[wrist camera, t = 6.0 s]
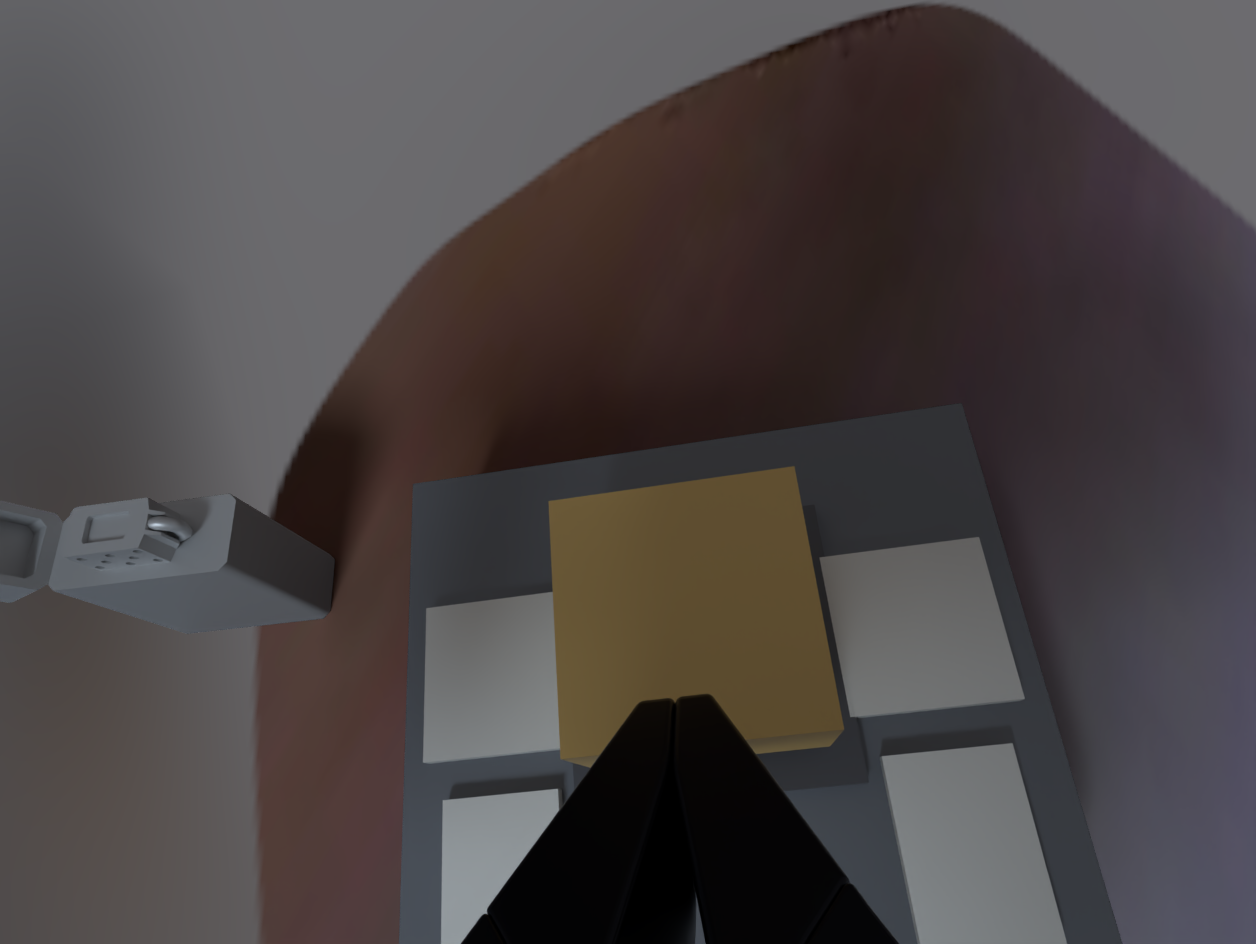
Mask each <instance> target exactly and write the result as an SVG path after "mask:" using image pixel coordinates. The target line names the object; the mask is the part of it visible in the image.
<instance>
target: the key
mask: <svg viewBox="0 0 1256 944" xmlns="http://www.w3.org/2000/svg"><path fill="white" fill-rule="evenodd" d="M548 502H549V523H550V545H551V566H552V588H553V609H554V631H555V652H556V674H557V695H558V717H559V738H560V759H562V760H565V761H568V762H572V763H575V764H579V765H582V766H586V767H589V768H591V766H592V765H593V763H594V762H595V761H596V759H597V758H598V757H599V755H600V754H601V753H602V751H603V750H604V749H605V747H606V746H607V744H608V743H609V742H610V740H611V739H612V738H613V736H614V735H615V734H616V732H617V731H618V729H619V728H620V727H621V725H622V724H623V723H624V721H625V720H626V719H627V717H628V716H629V714H630V713H631V712H632V710H633V709H634V708H635V706H636V705H637V704H638V703H639V702H641V701H645V700H654V699H663V698H671V699H673V700H674V701H675V703H676V700H677V699H678V698H679V697H681V696H689V695H698V694H710V695H712V696H713V697H714V698H715V700H716V701H717V702H718V704H719V705H720V706H721V708H722V709H723V710H724V712H725V713H726V714H727V716H728V717H729V718H730V720H731V721H732V722H733V724H734V725H735V726H736V728H737V729H738V730H739V732H740V733H741V734H742V736H743V737H744V738H745V740H746V741H747V743H748V744H749V745H750V747H751V748H752V749H753V751H754V752H755V753H756V754H761V753H771V752H781V751H791V750H800V749H810V748H820V747H830V746H831V745H832V743H833V742H834V741H835V740H836V739H837V738H838V736H839V735H840V734H841V733H842V732H843V730H844V725H843V720H842V715H841V710H840V704H839V699H838V694H837V688H836V683H835V678H834V673H833V667H832V662H831V657H830V651H829V646H828V641H827V636H826V630H825V625H824V620H823V615H822V609H821V604H820V599H819V593H818V588H817V583H816V578H815V572H814V567H813V562H812V556H811V551H810V546H809V541H808V535H807V530H806V525H805V519H804V514H803V509H802V504H801V498H800V493H799V488H798V483H797V477H796V472H795V467H794V466H792V467H785V468H778V469H771V470H764V471H757V472H750V473H743V474H736V475H729V476H722V477H715V478H708V479H700V480H693V481H686V482H679V483H672V484H665V485H658V486H651V487H644V488H637V489H630V490H623V491H616V492H609V493H602V494H595V495H588V496H581V497H574V498H567V499H560V500H553V501H548Z"/></svg>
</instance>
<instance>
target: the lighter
mask: <svg viewBox="0 0 1256 944" xmlns="http://www.w3.org/2000/svg"><path fill="white" fill-rule="evenodd" d="M334 564H335V559H334V558H333V557H332V556H331V555H330V554H329V553H327V552H325V551H324V550H322V549H320V548H319V547H317V546H315V545H314V544H312V543H311V542H309V541H307V540H306V539H304V538H302V537H301V536H299V535H297V534H296V533H294V532H292V531H291V530H289V529H287V528H286V527H284V526H282V525H281V524H279V523H278V522H276V521H274V520H273V519H271V518H269V517H268V516H266V515H264V514H263V513H261V512H259V511H258V510H256V509H254V508H253V507H251V506H249V505H248V504H246V503H244V502H243V501H241V500H239V499H238V498H236V497H234V496H233V495H231V494H222V495H216V496H208V497H200V498H193V499H185V500H178V501H170V502H163V503H157V502H155V501H153V500H152V499H150V498H141V499H134V500H126V501H120V502H112V503H104V504H97V505H89V506H82V507H75V508H74V510H73V511H72V512H71V514H70V516H69V517H68V518H67V519H66V520H65V521H64V522H62V521H61V519H60V518H59V517H58V515H57V514H56V513H52V512H48V511H43V510H39V509H35V508H31V507H26V506H22V505H18V504H13V503H9V502H5V501H0V601H2V602H8V603H11V602H13V601H16V600H18V599H19V598H22V597H24V596H26V595H28V594H30V593H32V592H34V591H36V590H38V589H40V588H42V587H43V586H45V585H47V584H48V585H49V586H50V587H51V589H52V590H53V591H55V592H58V593H61V594H65V595H68V596H71V597H74V598H77V599H80V600H84V601H87V602H90V603H93V604H96V605H99V606H102V607H105V608H108V609H112V610H115V611H118V612H121V613H124V614H127V615H130V616H133V617H136V618H140V619H143V620H146V621H149V622H152V623H155V624H159V625H161V626H165V627H168V628H171V629H174V630H177V631H180V632H183V633H187V634H189V633H198V632H207V631H216V630H225V629H234V628H243V627H252V626H261V625H270V624H279V623H287V622H296V621H305V620H314V619H323V618H324V617H325V616H326V615H327V614H328V613H329V612H330V609H331V598H332V587H333V576H334Z"/></svg>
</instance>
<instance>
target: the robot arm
mask: <svg viewBox="0 0 1256 944" xmlns="http://www.w3.org/2000/svg"><path fill="white" fill-rule="evenodd" d="M696 897H697V902H698V907H699V913H700V918H701V923H702V928H703V933H704V939H705V944H900V943H899V942H898V941H897V940H896V938H895V937H894V936H893V935H892V933H891V932H890V931H889V930H888V928H887V927H886V926H885V925H884V923H883V922H882V921H881V920H880V919H879V917H878V916H877V915H876V914H875V912H874V911H873V910H872V908H871V907H870V906H869V904H868V903H867V902H866V900H865V899H864V898H863V896H862V895H861V893H860V892H859V891H858V889H857V888H856V887H855V886H854V885H853V884H852V883H850V881H849V878H848V877H847V875H846V874H845V873H844V871H843V870H842V869H841V867H840V866H839V865H838V863H837V862H836V861H835V859H834V858H833V857H832V855H831V854H830V853H829V851H828V850H827V848H826V847H825V846H824V844H823V843H822V842H821V840H820V839H819V838H818V836H817V835H816V834H815V832H814V831H813V830H812V828H811V827H810V826H809V824H808V823H807V822H806V820H805V819H804V818H803V816H802V815H801V814H800V812H799V811H798V810H797V808H796V807H795V806H794V804H793V803H792V802H791V800H790V799H789V798H788V796H787V795H786V793H785V792H784V791H783V789H782V788H781V787H780V785H779V784H778V783H777V781H776V780H775V779H774V777H773V776H772V775H771V773H770V772H769V771H768V769H767V768H766V767H765V765H764V764H763V763H762V761H761V760H760V759H759V757H758V756H757V755H756V753H755V752H754V751H753V749H752V748H751V747H750V745H749V744H748V743H747V741H746V740H745V738H744V737H743V736H742V734H741V733H740V732H739V730H738V729H737V728H736V726H735V725H734V724H733V722H732V721H731V720H730V718H729V717H728V716H727V714H726V713H725V712H724V710H723V709H722V708H721V706H720V705H719V704H718V702H717V701H716V700H715V698H714V697H713V696H712V695H710V694H698V695H689V696H681V697H679V698H678V699H677V700H676V703H675V701H674V700H673V699H671V698H663V699H654V700H645V701H641V702H639V703H638V704H637V705H636V706H635V708H634V709H633V710H632V712H631V713H630V714H629V716H628V717H627V719H626V720H625V721H624V723H623V724H622V725H621V727H620V728H619V729H618V731H617V732H616V734H615V735H614V736H613V738H612V739H611V740H610V742H609V743H608V744H607V746H606V747H605V749H604V750H603V751H602V753H601V754H600V755H599V757H598V758H597V759H596V761H595V762H594V763H593V765H592V766H591V768H590V769H589V770H588V772H587V773H586V774H585V776H584V777H583V778H582V780H581V781H580V783H579V784H578V785H577V787H576V788H575V789H574V791H573V792H572V793H571V795H570V796H569V797H568V799H567V800H566V802H565V803H564V804H563V806H562V807H561V808H560V810H559V811H558V812H557V814H556V815H555V817H554V818H553V819H552V821H551V822H550V823H549V825H548V826H547V827H546V829H545V830H544V832H543V833H542V834H541V836H540V837H539V838H538V840H537V841H536V842H535V844H534V845H533V846H532V848H531V849H530V851H529V852H528V853H527V855H526V856H525V857H524V859H523V860H522V861H521V863H520V864H519V866H518V867H517V868H516V870H515V871H514V872H513V874H512V875H511V876H510V878H509V879H508V880H507V882H506V883H505V885H504V886H503V887H502V889H501V890H500V891H499V893H498V894H497V895H496V897H495V898H494V900H493V901H492V902H491V904H490V905H489V906H488V908H487V914H483V915H482V916H481V917H480V918H479V919H478V921H477V922H476V924H475V925H474V926H473V928H472V929H471V930H470V932H469V933H468V934H467V936H466V937H465V938H464V940H463V941H462V943H461V944H695V937H696V904H697V903H696Z"/></svg>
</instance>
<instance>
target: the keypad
mask: <svg viewBox="0 0 1256 944" xmlns="http://www.w3.org/2000/svg"><path fill="white" fill-rule="evenodd" d="M792 466H794V467H795V472H796V477H797V483H798V488H799V493H800V498H801V504H802V509H803V514H804V519H805V525H806V530H807V535H808V541H809V546H810V551H811V556H812V562H813V567H814V572H815V578H816V583H817V588H818V593H819V599H820V604H821V609H822V615H823V620H824V625H825V630H826V636H827V641H828V646H829V651H830V657H831V662H832V667H833V673H834V678H835V683H836V688H837V694H838V699H839V704H840V710H841V715H842V720H843V725H844V730H843V732H842V733H841V734H840V735H839V736H838V738H837V739H836V740H835V741H834V742H833V743H832V745H831V746H830V747H820V748H810V749H800V750H791V751H781V752H771V753H761V754H756V755H757V756H758V757H759V759H760V760H761V761H762V763H763V764H764V765H765V767H766V768H767V769H768V771H769V772H770V773H771V775H772V776H773V777H774V779H775V780H776V781H777V783H778V784H779V785H780V787H781V788H782V789H783V791H784V792H785V793H786V795H787V796H788V798H789V799H790V800H791V802H792V803H793V804H794V806H795V807H796V808H797V810H798V811H799V812H800V814H801V815H802V816H803V818H804V819H805V820H806V822H807V823H808V824H809V826H810V827H811V828H812V830H813V831H814V832H815V834H816V835H817V836H818V838H819V839H820V840H821V842H822V843H823V844H824V846H825V847H826V848H827V850H828V851H829V853H830V854H831V855H832V857H833V858H834V859H835V861H836V862H837V863H838V865H839V866H840V867H841V869H842V870H843V871H844V873H845V874H846V875H847V877H848V878H849V881H850V883H852V884H853V885H854V886H855V887H856V888H857V889H858V891H859V892H860V893H861V895H862V896H863V898H864V899H865V900H866V902H867V903H868V904H869V906H870V907H871V908H872V910H873V911H874V912H875V914H876V915H877V916H878V917H879V919H880V920H881V921H882V922H883V923H884V925H885V926H886V927H887V928H888V930H889V931H890V932H891V933H892V935H893V936H894V937H895V938H896V940H897V941H898V942H899V943H900V944H1122V941H1121V938H1120V934H1119V931H1118V927H1117V924H1116V921H1115V917H1114V914H1113V911H1112V907H1111V904H1110V901H1109V897H1108V894H1107V890H1106V887H1105V884H1104V880H1103V877H1102V874H1101V870H1100V867H1099V863H1098V860H1097V857H1096V853H1095V850H1094V847H1093V843H1092V840H1091V837H1090V833H1089V830H1088V826H1087V823H1086V820H1085V816H1084V813H1083V810H1082V806H1081V803H1080V799H1079V796H1078V793H1077V789H1076V786H1075V783H1074V779H1073V776H1072V773H1071V769H1070V766H1069V762H1068V759H1067V756H1066V752H1065V749H1064V746H1063V742H1062V739H1061V735H1060V732H1059V729H1058V725H1057V722H1056V719H1055V715H1054V712H1053V709H1052V705H1051V702H1050V698H1049V695H1048V692H1047V688H1046V685H1045V682H1044V678H1043V675H1042V672H1041V668H1040V665H1039V661H1038V658H1037V655H1036V651H1035V648H1034V645H1033V641H1032V638H1031V634H1030V631H1029V628H1028V624H1027V621H1026V618H1025V614H1024V611H1023V608H1022V604H1021V601H1020V597H1019V594H1018V591H1017V587H1016V584H1015V581H1014V577H1013V574H1012V570H1011V567H1010V564H1009V560H1008V557H1007V554H1006V550H1005V547H1004V544H1003V540H1002V537H1001V533H1000V530H999V527H998V523H997V520H996V517H995V513H994V510H993V506H992V503H991V500H990V496H989V493H988V490H987V486H986V483H985V480H984V476H983V473H982V469H981V466H980V463H979V459H978V456H977V453H976V449H975V446H974V443H973V439H972V436H971V432H970V429H969V426H968V422H967V419H966V416H965V412H964V409H963V405H962V403H958V404H951V405H944V406H938V407H931V408H924V409H917V410H911V411H904V412H897V413H890V414H884V415H877V416H870V417H863V418H856V419H850V420H843V421H836V422H829V423H823V424H816V425H809V426H802V427H796V428H789V429H782V430H775V431H768V432H762V433H755V434H748V435H741V436H735V437H728V438H721V439H714V440H708V441H701V442H694V443H687V444H681V445H674V446H667V447H660V448H653V449H647V450H640V451H633V452H626V453H620V454H613V455H606V456H599V457H593V458H586V459H579V460H572V461H565V462H559V463H552V464H545V465H538V466H532V467H525V468H518V469H511V470H505V471H498V472H491V473H484V474H477V475H471V476H464V477H457V478H450V479H444V480H437V481H430V482H423V483H417V484H413V503H412V536H411V569H410V602H409V634H408V667H407V700H406V733H405V766H404V799H403V832H402V865H401V897H400V930H399V944H461V943H462V941H463V940H464V938H465V937H466V936H467V934H468V933H469V932H470V930H471V929H472V928H473V926H474V925H475V924H476V922H477V921H478V919H479V918H480V917H481V916H482V915H483V914H487V908H488V906H489V905H490V904H491V902H492V901H493V900H494V898H495V897H496V895H497V894H498V893H499V891H500V890H501V889H502V887H503V886H504V885H505V883H506V882H507V880H508V879H509V878H510V876H511V875H512V874H513V872H514V871H515V870H516V868H517V867H518V866H519V864H520V863H521V861H522V860H523V859H524V857H525V856H526V855H527V853H528V852H529V851H530V849H531V848H532V846H533V845H534V844H535V842H536V841H537V840H538V838H539V837H540V836H541V834H542V833H543V832H544V830H545V829H546V827H547V826H548V825H549V823H550V822H551V821H552V819H553V818H554V817H555V815H556V814H557V812H558V811H559V810H560V808H561V807H562V806H563V804H564V803H565V802H566V800H567V799H568V797H569V796H570V795H571V793H572V792H573V791H574V789H575V788H576V787H577V785H578V784H579V783H580V781H581V780H582V778H583V777H584V776H585V774H586V773H587V772H588V770H589V769H590V768H589V767H586V766H582V765H579V764H575V763H572V762H568V761H565V760H562V759H560V738H559V717H558V695H557V674H556V652H555V631H554V609H553V588H552V566H551V545H550V523H549V502H548V501H553V500H560V499H567V498H574V497H581V496H588V495H595V494H602V493H609V492H616V491H623V490H630V489H637V488H644V487H651V486H658V485H665V484H672V483H679V482H686V481H693V480H700V479H708V478H715V477H722V476H729V475H736V474H743V473H750V472H757V471H764V470H771V469H778V468H785V467H792ZM696 903H697V904H696V937H695V944H705V939H704V933H703V928H702V923H701V918H700V913H699V907H698V902H697V897H696Z"/></svg>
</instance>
